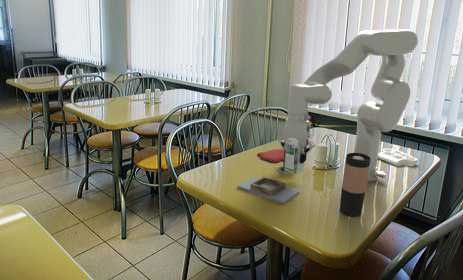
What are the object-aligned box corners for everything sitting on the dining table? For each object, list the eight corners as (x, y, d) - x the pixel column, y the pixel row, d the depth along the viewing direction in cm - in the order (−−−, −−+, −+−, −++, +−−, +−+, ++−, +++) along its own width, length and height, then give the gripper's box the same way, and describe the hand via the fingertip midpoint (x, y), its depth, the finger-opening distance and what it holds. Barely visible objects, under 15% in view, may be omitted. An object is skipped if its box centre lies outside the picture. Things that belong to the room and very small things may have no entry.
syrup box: (283, 170, 147) (285, 136, 142) (293, 166, 151) (295, 133, 146) (295, 174, 143) (297, 139, 138) (304, 170, 146) (306, 136, 142)
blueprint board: (299, 193, 137) (299, 190, 137) (282, 204, 128) (283, 201, 128) (255, 178, 149) (255, 176, 148) (237, 188, 140) (237, 185, 139)
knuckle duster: (370, 157, 181) (390, 153, 187) (401, 169, 166) (422, 165, 172) (371, 150, 180) (391, 147, 186) (403, 162, 165) (423, 158, 171)
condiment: (301, 171, 159) (303, 144, 155) (286, 174, 154) (288, 147, 151) (289, 165, 164) (292, 140, 161) (275, 168, 160) (277, 142, 156)
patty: (271, 165, 165) (272, 161, 164) (252, 156, 176) (252, 152, 175) (299, 158, 175) (299, 154, 174) (279, 150, 186) (279, 146, 185)
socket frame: (285, 187, 139) (286, 183, 138) (272, 196, 132) (272, 191, 131) (264, 180, 144) (264, 176, 144) (250, 188, 137) (250, 183, 136)
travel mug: (336, 205, 128) (343, 152, 122) (358, 206, 128) (366, 153, 122) (341, 216, 121) (349, 160, 115) (365, 217, 121) (374, 161, 115)
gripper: (322, 118, 138) (319, 163, 143) (282, 111, 148) (280, 153, 153) (313, 122, 132) (310, 168, 137) (272, 115, 142) (271, 158, 148)
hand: (294, 160), depth 145 cm, fingers closed on syrup box, 6 cm apart
